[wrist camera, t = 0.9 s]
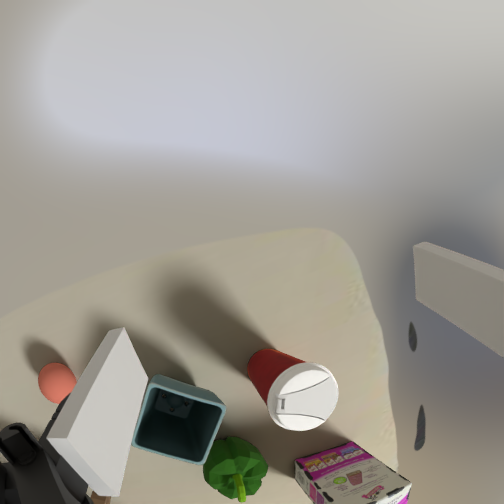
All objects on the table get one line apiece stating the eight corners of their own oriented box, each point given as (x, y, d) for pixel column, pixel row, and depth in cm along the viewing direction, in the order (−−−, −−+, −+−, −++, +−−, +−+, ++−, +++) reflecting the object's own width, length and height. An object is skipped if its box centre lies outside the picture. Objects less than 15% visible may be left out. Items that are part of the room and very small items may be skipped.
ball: (81, 399, 33) (70, 414, 28) (47, 390, 32) (32, 402, 27) (82, 363, 34) (70, 374, 29) (47, 354, 33) (31, 363, 28)
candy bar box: (294, 480, 39) (339, 538, 24) (293, 458, 40) (342, 516, 24) (352, 461, 42) (408, 504, 26) (353, 439, 43) (414, 481, 27)
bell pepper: (208, 422, 37) (219, 457, 28) (261, 433, 39) (284, 467, 29) (191, 466, 36) (198, 506, 26) (243, 475, 38) (260, 513, 28)
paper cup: (238, 393, 39) (269, 439, 25) (240, 341, 40) (273, 367, 26) (291, 390, 41) (339, 428, 27) (294, 340, 42) (347, 361, 28)
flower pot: (196, 434, 37) (203, 467, 28) (136, 415, 35) (129, 446, 26) (216, 381, 38) (228, 405, 30) (153, 360, 37) (149, 381, 28)
